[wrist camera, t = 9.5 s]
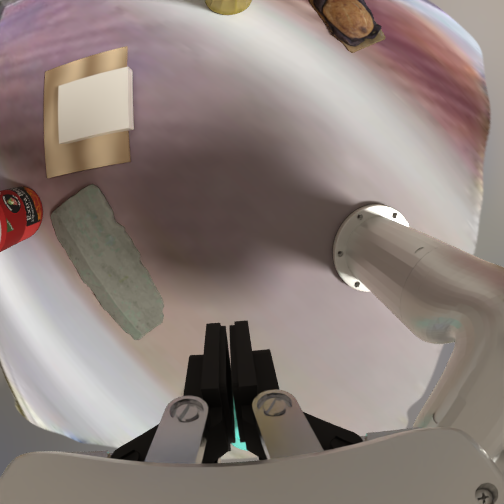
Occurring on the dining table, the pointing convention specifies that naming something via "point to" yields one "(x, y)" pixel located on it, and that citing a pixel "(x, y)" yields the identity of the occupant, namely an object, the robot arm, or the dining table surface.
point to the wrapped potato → (350, 22)
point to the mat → (88, 150)
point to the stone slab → (108, 261)
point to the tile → (95, 106)
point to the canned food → (18, 215)
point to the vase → (228, 6)
